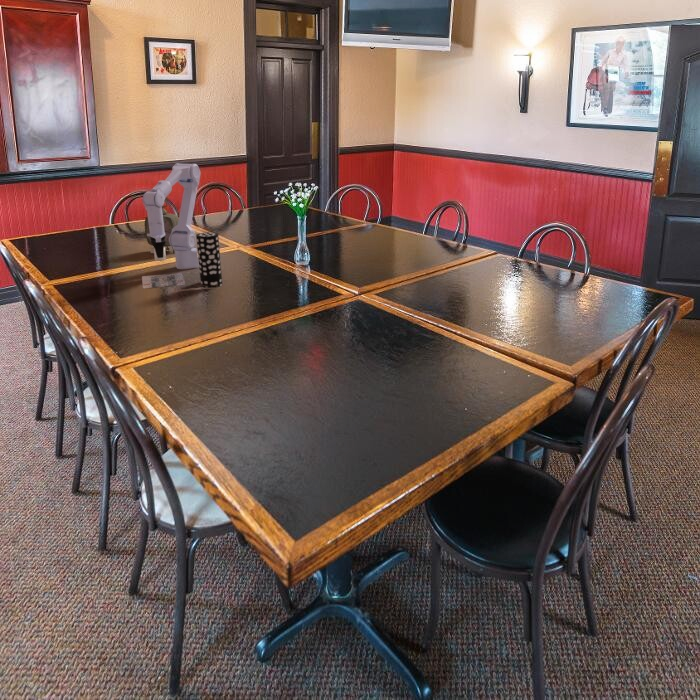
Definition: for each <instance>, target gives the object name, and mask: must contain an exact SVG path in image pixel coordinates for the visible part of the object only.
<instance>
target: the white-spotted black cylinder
mask: <svg viewBox="0 0 700 700" xmlns="http://www.w3.org/2000/svg"><path fill="white" fill-rule="evenodd" d="M195 240H196V248H197V254H198V261H199V269H198V270H199V279H200V285H203V286H202V288H206V289H212V288H213V289H214V288H218V287H221V286H223V274H222V265H221V264H222V261H221V251H220V241H219V240H220V239H219V233H218V232H213V231H211V232H209V231H208V232H207V231H206V232H200V233H196V234H195Z"/></svg>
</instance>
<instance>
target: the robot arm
mask: <svg viewBox="0 0 700 700" xmlns="http://www.w3.org/2000/svg"><path fill="white" fill-rule="evenodd" d="M201 173H202V172H201V170H200V167H199V165H198V164H197V163H177V162H176V163H175V164H174V165H173V166H172V168H171V172H170V173H169V175H168V176H167V177H166V178H165V180H164V179H162V180H158V181H157V183H156V185H155V186H154V187H152V188H151V189H150V191H148V190H147V191H146V192H145V193H143V196H142V201H141V202H142V204H143V206H144V209H145V211H146V215H147V217H148V223H149V230H150V234H147V236H150V237H152V238H151V243H152V245H153V248H155V251H156V255H157V257H158V258H163V253H164V245H165V242H166V240H164V239H165V231H164V222H163V214H162V206H164V204H165V201H164V200H166V198H167V197H168V196H169V194H170V193H171V192H172V190H173V188H172V187H173V186H175V185H176V184H177V183H179V185H180V186H182V187H183V192H182V193H183V194H182V198H181V203H180V204H181V205H180V210H179V216H178V219H179V221H178V225H177V226H175V227H174V228H173V229H172V232H171V234H170V237H169V243H170V245H171V246H170V247H171V248H172V247H173V248H172V250H173V249H174V250H175V253H174V257H175V266H176V269H178V270H189V269H198V268H199V259H198V249H197V247H195V245H196V243H197V239H196V231H195V230H194V228H192V227H191V226H192V220H193V216H194V210H195V204H196V199H197V192H198V188H199V185H200V180H201V179H200V178H201ZM152 245H151V246H152Z"/></svg>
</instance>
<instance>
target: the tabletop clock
mask: <svg viewBox="0 0 700 700" xmlns="http://www.w3.org/2000/svg"><path fill="white" fill-rule="evenodd" d="M164 203H166V205H163V206H162V214H163V222H164V231H165V239H164V240H166V242H165V245H164V247H165V251H167V250H169V251H170V247H171V249H172V253H173V254H175V249H173V247H172V246H171V245H170V243H169V237H170V234H171V232H172V229H173V228H174V227H175V226H177V225H178V221H179V216H178V215H177V214H175V213H170V212H169V213H168V211H167V210H166V209H165V208H167V206H168V203H169V202H168V201H167V200H166V199H165V200H164ZM144 233H145V234H144V235H145V239H146V242H147V243H148V245H150V246H153V245H152V243H151V238H152V237H150V236H147V234H150V230H149V223H148V216H147V217H145V218H144ZM153 247H154V246H153Z"/></svg>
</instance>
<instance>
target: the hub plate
mask: <svg viewBox="0 0 700 700" xmlns="http://www.w3.org/2000/svg"><path fill="white" fill-rule="evenodd" d="M141 281H142V282H141V283H142V289H150V288H151V289H152V288H162V287H163V288H164V287H172V286H173V287H175V286H184V285H186V281H185V278H184V275H183V272H176V273H166V274H165V273H164V274H155V275H154V274H153V275H142V276H141Z"/></svg>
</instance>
